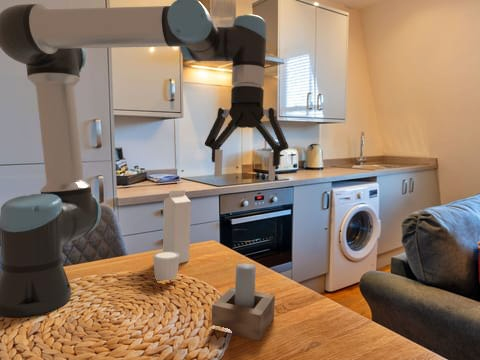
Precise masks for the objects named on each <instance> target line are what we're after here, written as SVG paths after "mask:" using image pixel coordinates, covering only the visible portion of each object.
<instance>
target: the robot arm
mask: <svg viewBox="0 0 480 360" xmlns="http://www.w3.org/2000/svg"><path fill="white" fill-rule="evenodd" d="M266 45H267V23H266V21H265V19H264V18H262V17H261V16H259V15H255V14H243V15H238V16H236V17H235V19H234V21H233V24H232V26H216V25H215V23H214V21H213V19H212V17H211V15H210V12H209V11H208V10H207V8H206V7H205V6H204V5H203V4H202V3H201V1H199V0H174V1H173V2H172V3H171V5H156V6H128V7H127V6H123V7H122V6H120V7H86V8H85V7H83V8H81V7H80V8H54V9H53V8H52V9H51V8H50V7H48V6H47V5H45V4H43V3H30V4H29V3H28V4H17V5H12V6H9V7H7V8H4V9H3V10H2V11H1V12H0V49H1V50H2V51H3V52H4V54H5V55H7V56H8V57H9V58H10V59H12V60H14V61H16V62H18V63H21V64H23V65H24V64H25V67H26V73H27V74H26V75H27V80H29V81H30V83H32V84H33V85H34V86H35V91H36V100H37V108H38V111H37V112H38V118H39V127H40V128H39V129H40V137H41V144H42V145H41V146H42V155H43V163H44V173H45V174H44V175H45V185H43V187H42V188H41V189H40V193H34V194H33V193H32V194H29V195H27V194H26V195H21V196H16V197H14V198H11V199H8V200H6V201H5V202H4V203H3V204H2V206H1V207H0V260H1V262H0V263H1V264H0V265H1V266H0V267H1V270H0V271H1V272H0V316H2V317H7V318H21V317H22V318H24V317H33V316H38V315H41V314H45V313H48V312H51V311H55V310H56V309H59V308H61V307H62V306H65V304H67V303H68V302H69V301H70V300H71V298H72V286H71V283H70V282H69V278H68V276H67V273H66V270H65V268H64V265H63V246H64V245H66V244H68V243H71V242H72V241H75V240H78V239H81V238H83V237H86V236H87V235H88V234H89V233H91V232H93V231H94V230H95V229H96V227H97V226H98V225H99V222H100V220H101V217H102V208H101V204H100V201H99V200H98V198H96V197H95V196H94V194H93V193H92V186H91V185H90V184H89V183H88V182H87V181H86V180H85V179H84V169H83V159H82V151H81V149H82V148H81V141H80V131H79V130H80V129H79V121H78V110H77V104H76V103H77V101H76V92H75V86H76V85H77V83H79V82H80V81H81V79H80V77H81V76H80V73H81V72H82V69H83V68H84V67H85V65H86V60H87V54H86V53H87V52H86V50H85V49H101V48H102V49H106V48H110V49H111V48H114V49H115V48H150V47H151V48H152V47H153V48H154V47H156V48H157V47H158V48H159V47H161V48H162V47H170V48H171V47H175V48H176V47H179V49H180V53H181V56H182V57H183V59H184V60H186V61H189V62H192V61H193V62H196V63H200V62H232V64H231V65H232V71H231V86H233V87H232V88H231V91H230V92H231V93H230V94H231V95H230V96H231V98H230V109H227V108H222V107H219V108H218V109H217V116H216V118H215V121H214V123H213V125H212V127H211V129H210V131H209V134H208V136H207V137H206V139H205V142H204V146H205V147H208V148H209V149H211V163H214V174H213V175H214V176H213V177H215V178H218V177H222V175H223V149H221V147H222V146H223V145H224V143H225V142H226V141H227V140H228V139H229V137H230V136H231V135H232V134H233V132H234V131H236V130H237V128H240V129H241V128H242V129H245V128H249V129H254V128H255V129H257V131H258V132H259V133H260V135H261V136H262V138H264V140H265V142H267V144H268V145H269V147H270V148H271V149H272V151H269V156H268V157H269V159H268V160H269V161H268V180H267V181H270V182H272V181H275V180H276V179H275V178H276V167H279V166H280V165H281V164H280V163H281V152H283V151H286V150H288V149H289V147H290V146H289V144H288V142H287V138H286V137H285V135H284V132H283V130H282V127H281V125H280V123H279V121H278V120H279V119H278V118H277V117H278V116H277V109H275V108H273V107H269V108H268V109H264V92H265V90H264V89H263V88H262V87H264V85H265V71H266V70H265V69H266V68H265V65H266V64H265V63H266V52H267V51H266V50H267V48H266V47H267V46H266ZM229 116H230V117H231V120H230V121H229V122H228V123H227V126H225V128H224V129H223V131H222V132H221V130H222V128H223V126H224V124H225V122H226V119H228V117H229ZM264 116H266V119H268V120H269V123H270V125H271V128H272V130H273V132H274V135H275V136H276V139H277V141H276V140H275V139H274V137H273V136H272V134H271V133H270V132H269V130H268V129H267V128H266V126H265V124H264V123H263V121H261V120H262V119H263V118H264ZM220 132H221V133H220Z"/></svg>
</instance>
